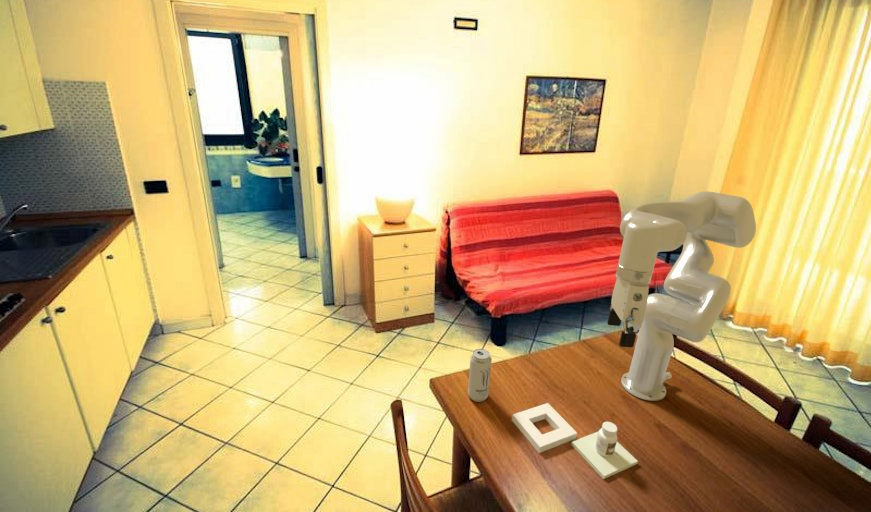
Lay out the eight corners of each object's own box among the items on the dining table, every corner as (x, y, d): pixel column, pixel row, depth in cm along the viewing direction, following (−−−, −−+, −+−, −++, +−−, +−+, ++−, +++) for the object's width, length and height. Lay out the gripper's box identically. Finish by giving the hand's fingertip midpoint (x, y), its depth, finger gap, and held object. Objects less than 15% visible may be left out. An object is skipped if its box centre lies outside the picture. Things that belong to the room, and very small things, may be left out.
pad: (603, 432, 109) (603, 429, 109) (636, 464, 100) (637, 461, 100) (571, 444, 105) (571, 441, 105) (603, 479, 96) (604, 476, 95)
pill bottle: (609, 460, 99) (616, 436, 96) (592, 450, 102) (597, 426, 99) (616, 450, 102) (622, 426, 100) (598, 440, 105) (604, 417, 102)
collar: (546, 408, 117) (547, 402, 116) (576, 438, 107) (577, 433, 106) (511, 420, 112) (512, 414, 111) (538, 453, 102) (539, 447, 101)
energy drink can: (478, 406, 117) (482, 363, 111) (463, 395, 121) (466, 352, 115) (492, 397, 121) (496, 354, 115) (477, 386, 125) (480, 345, 119)
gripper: (666, 290, 87) (648, 357, 93) (637, 260, 103) (623, 318, 109) (629, 288, 88) (614, 354, 94) (606, 258, 104) (595, 316, 110)
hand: (619, 335), depth 102 cm, fingers open, 9 cm apart
